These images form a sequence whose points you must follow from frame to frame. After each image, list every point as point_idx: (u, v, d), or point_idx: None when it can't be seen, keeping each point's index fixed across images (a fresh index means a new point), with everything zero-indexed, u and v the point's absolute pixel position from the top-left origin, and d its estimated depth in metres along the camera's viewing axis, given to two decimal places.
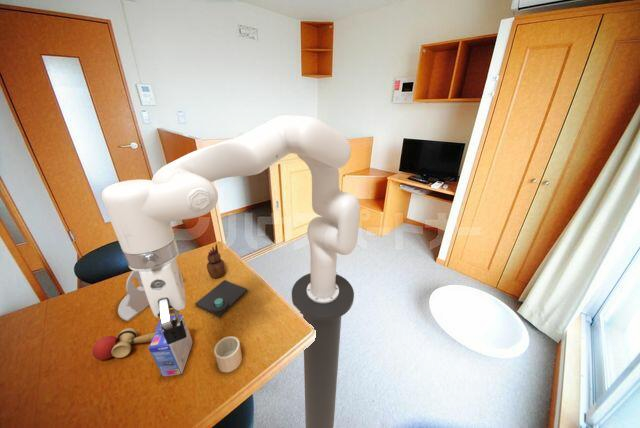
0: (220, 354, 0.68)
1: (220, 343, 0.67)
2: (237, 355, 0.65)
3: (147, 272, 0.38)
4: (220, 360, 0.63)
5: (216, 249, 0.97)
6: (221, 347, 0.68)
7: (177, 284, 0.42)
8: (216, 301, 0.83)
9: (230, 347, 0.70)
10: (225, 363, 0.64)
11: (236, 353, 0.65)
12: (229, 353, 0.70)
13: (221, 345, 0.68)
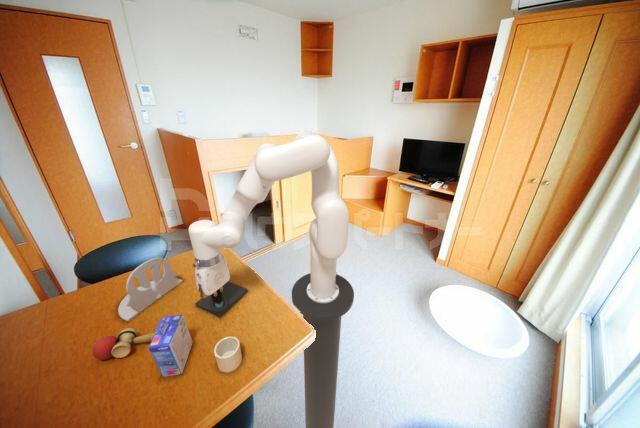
0: (220, 354, 0.68)
1: (220, 343, 0.67)
2: (237, 355, 0.65)
3: (197, 267, 0.73)
4: (220, 360, 0.63)
5: None
6: (221, 347, 0.68)
7: (206, 281, 0.73)
8: None
9: (230, 347, 0.70)
10: (225, 363, 0.64)
11: (236, 353, 0.65)
12: (229, 353, 0.70)
13: (221, 345, 0.68)
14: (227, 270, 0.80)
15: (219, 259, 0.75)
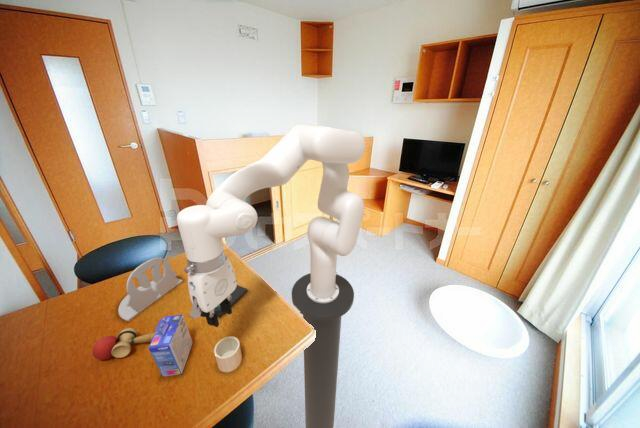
0: (220, 354, 0.68)
1: (220, 343, 0.67)
2: (237, 355, 0.65)
3: (190, 273, 0.51)
4: (220, 360, 0.63)
5: None
6: (221, 347, 0.68)
7: (204, 293, 0.51)
8: None
9: (230, 347, 0.70)
10: (225, 363, 0.64)
11: (236, 353, 0.65)
12: (229, 353, 0.70)
13: (221, 345, 0.68)
14: (233, 276, 0.59)
15: (222, 261, 0.53)
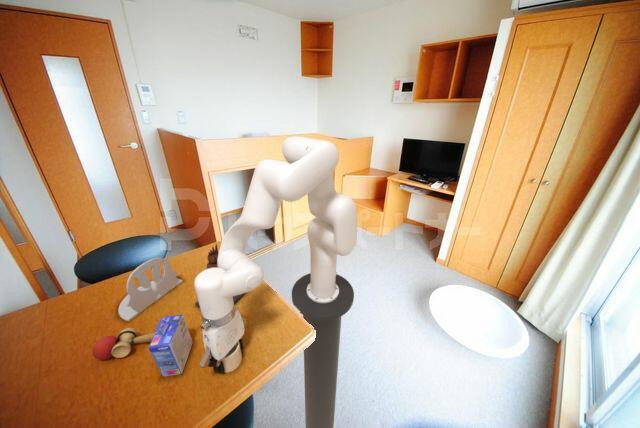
0: None
1: None
2: (237, 355, 0.65)
3: (205, 327, 0.58)
4: None
5: (216, 249, 0.97)
6: None
7: (217, 344, 0.58)
8: None
9: None
10: (225, 363, 0.64)
11: (236, 353, 0.65)
12: (229, 353, 0.70)
13: None
14: (241, 324, 0.66)
15: (232, 315, 0.60)
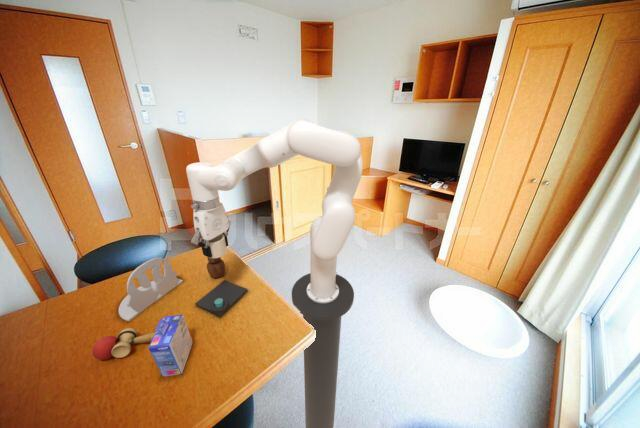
0: None
1: None
2: (222, 244, 0.80)
3: (195, 210, 0.72)
4: (208, 245, 0.77)
5: None
6: (209, 240, 0.82)
7: (205, 224, 0.72)
8: (216, 301, 0.83)
9: None
10: (212, 248, 0.78)
11: (221, 242, 0.79)
12: None
13: None
14: (226, 218, 0.80)
15: (217, 203, 0.74)
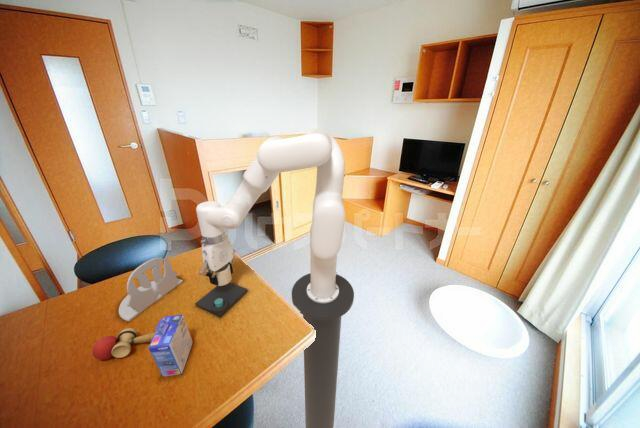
0: None
1: None
2: (227, 273, 0.87)
3: (203, 245, 0.79)
4: (215, 274, 0.84)
5: None
6: None
7: (212, 258, 0.79)
8: (216, 301, 0.83)
9: (223, 271, 0.91)
10: (218, 277, 0.85)
11: (227, 271, 0.86)
12: None
13: None
14: (231, 249, 0.87)
15: (224, 238, 0.81)
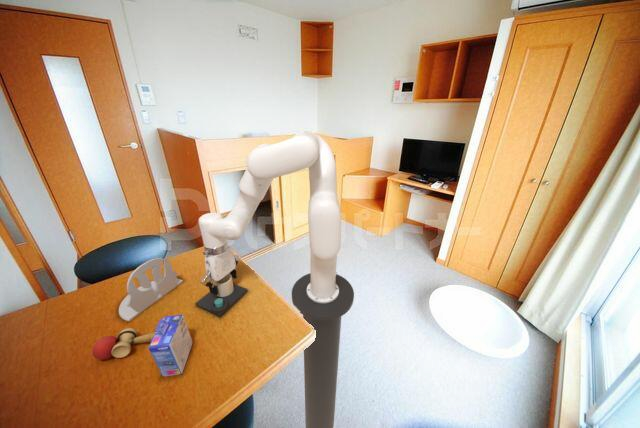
0: None
1: None
2: (230, 284, 0.89)
3: (206, 255, 0.81)
4: (217, 286, 0.87)
5: None
6: None
7: (215, 268, 0.81)
8: (216, 301, 0.83)
9: (225, 282, 0.93)
10: (221, 289, 0.87)
11: (229, 282, 0.88)
12: None
13: None
14: (233, 259, 0.88)
15: (226, 248, 0.83)
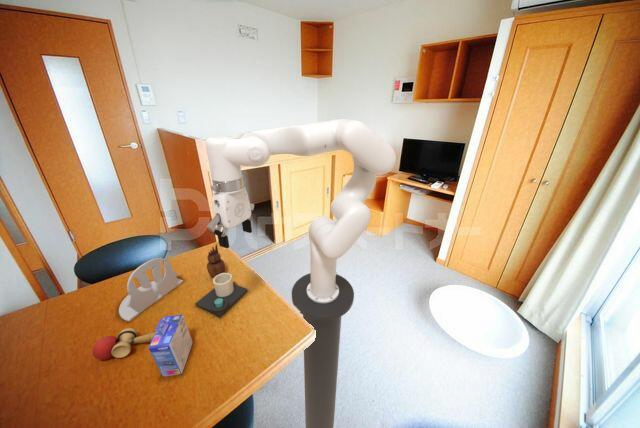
0: None
1: (217, 277, 0.91)
2: (230, 284, 0.89)
3: (215, 193, 0.62)
4: (217, 286, 0.87)
5: (216, 249, 0.97)
6: (218, 280, 0.91)
7: (226, 209, 0.62)
8: (216, 301, 0.83)
9: (225, 282, 0.93)
10: (221, 289, 0.87)
11: (229, 282, 0.88)
12: None
13: (218, 279, 0.91)
14: (248, 204, 0.69)
15: (240, 185, 0.64)
